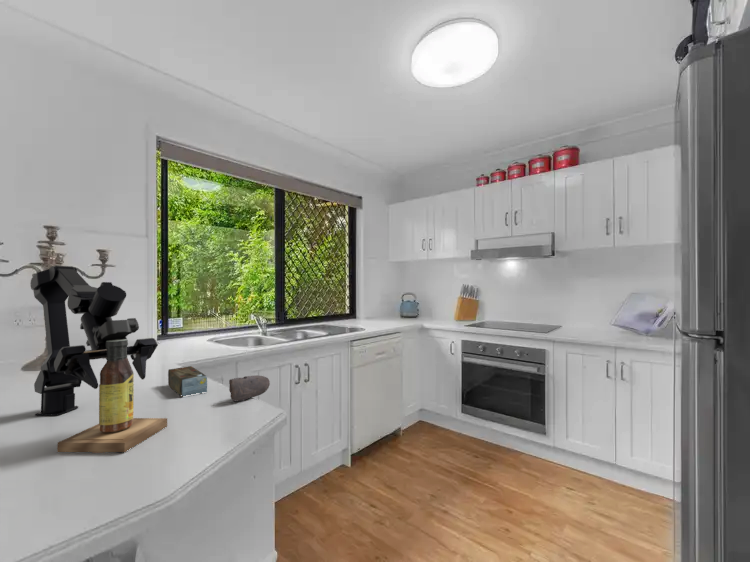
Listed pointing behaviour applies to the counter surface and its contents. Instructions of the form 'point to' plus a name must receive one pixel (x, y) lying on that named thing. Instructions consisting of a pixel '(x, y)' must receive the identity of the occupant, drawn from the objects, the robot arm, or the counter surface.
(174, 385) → the beverage carton
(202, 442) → the counter surface
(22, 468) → the counter surface
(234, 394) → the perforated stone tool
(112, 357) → the sauce bottle
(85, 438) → the podium
